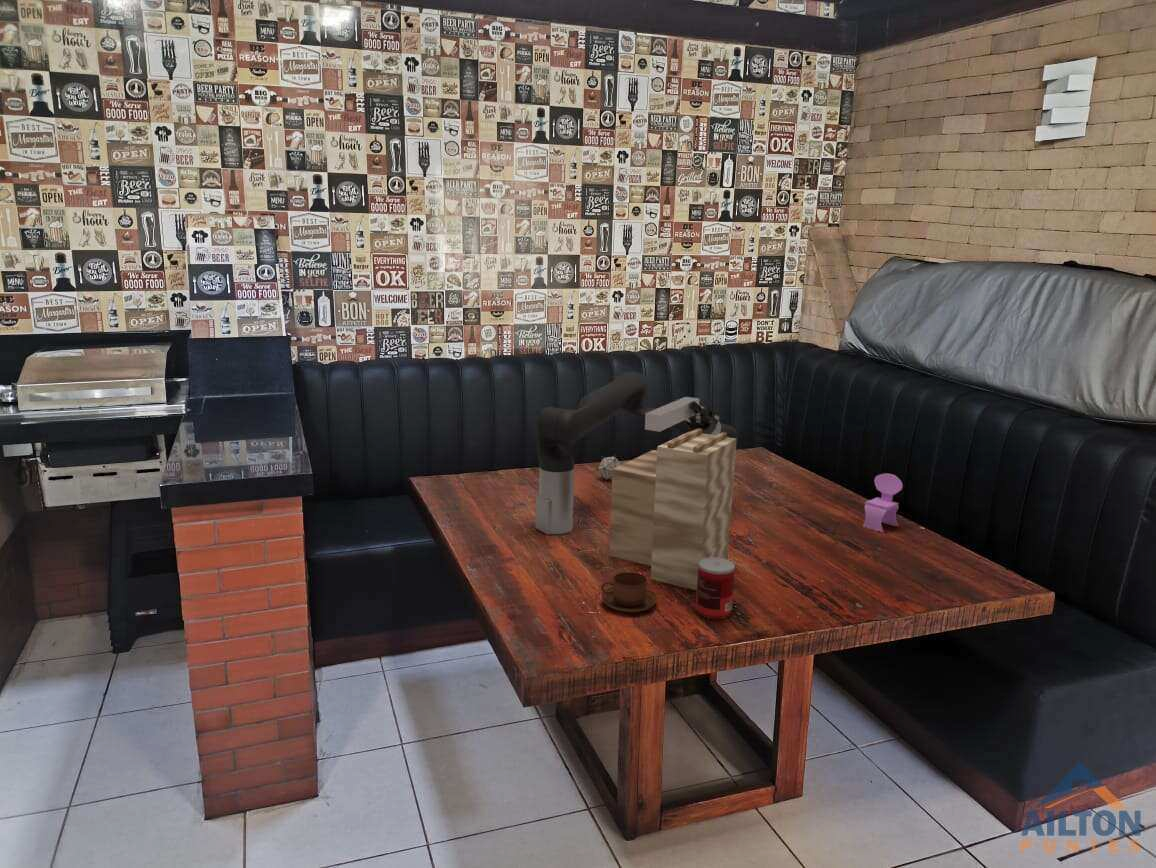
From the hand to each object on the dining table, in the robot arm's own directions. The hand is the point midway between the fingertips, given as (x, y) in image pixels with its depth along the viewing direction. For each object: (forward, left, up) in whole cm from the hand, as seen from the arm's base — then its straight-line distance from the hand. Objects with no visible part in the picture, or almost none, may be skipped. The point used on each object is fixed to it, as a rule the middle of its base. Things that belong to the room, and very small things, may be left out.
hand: (684, 403), depth 220 cm
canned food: (-25, -41, -36) cm, 60 cm away
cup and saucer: (-38, -29, -36) cm, 60 cm away
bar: (-6, -3, -3) cm, 7 cm away
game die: (+13, +49, -36) cm, 62 cm away
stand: (-13, -13, -36) cm, 40 cm away
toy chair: (+53, -25, -36) cm, 69 cm away
